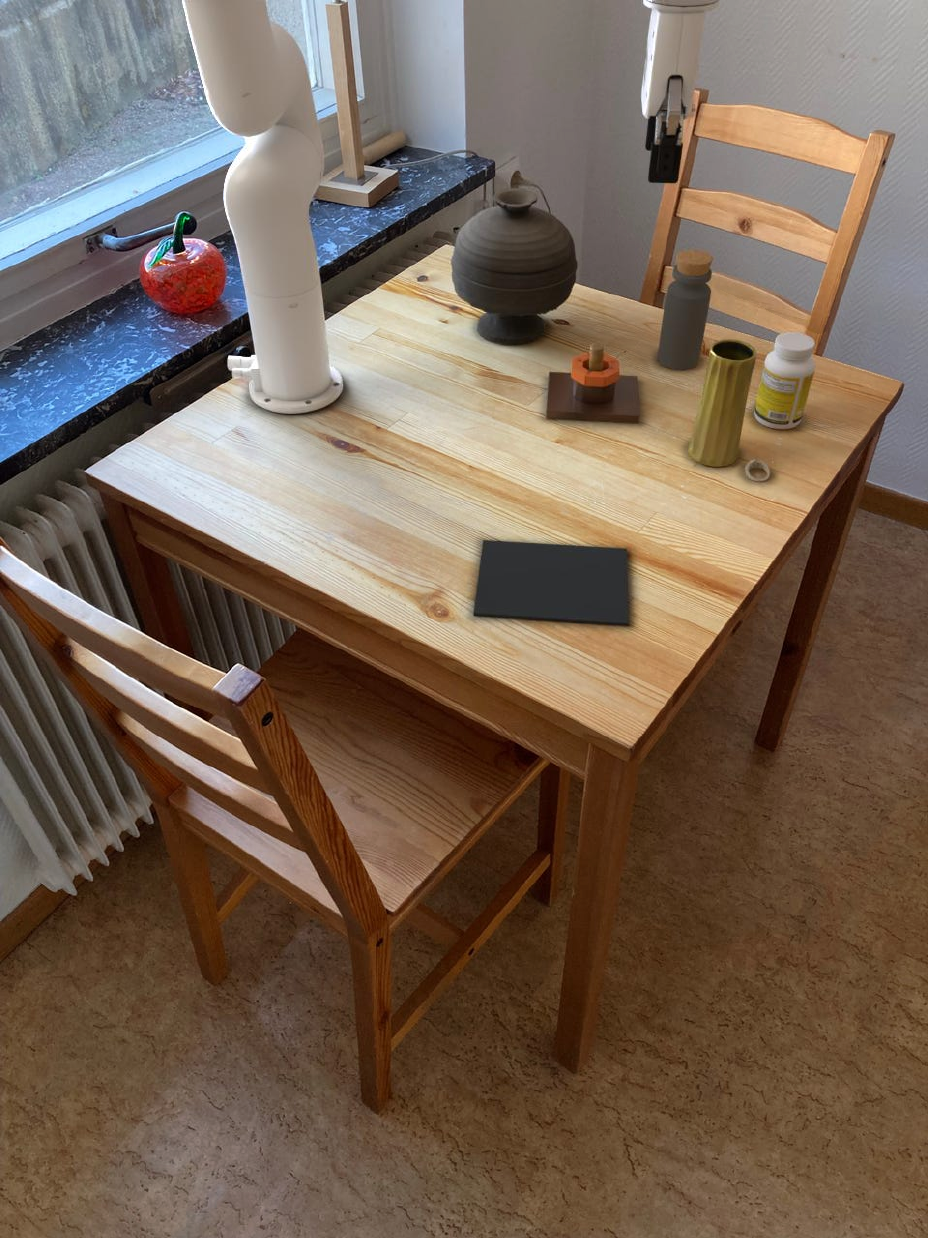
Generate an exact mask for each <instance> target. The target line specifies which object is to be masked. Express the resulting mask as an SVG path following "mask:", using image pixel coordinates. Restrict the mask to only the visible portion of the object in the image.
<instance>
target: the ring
mask: <svg viewBox="0 0 928 1238" xmlns="http://www.w3.org/2000/svg"><path fill="white" fill-rule="evenodd" d="M753 468H755V469H762V470H764V471H765V472H766V476H765V477H763V478H756V477H754V476H753V475H752V474H751V473H750V470H753ZM743 471H744V474H745V475H746V477H747V478H748V479H749V480H751V481H753V482H758V483H759V482H760V483H761V482H766V481H768V480H769V478H770V476H771V470H770V468H769V466H768V465H767V463H765V461H763V460H760V459H759V460H756V458H754V459H750V460H749V461H748V462H747V463H746V464H745V466H744V469H743Z"/></svg>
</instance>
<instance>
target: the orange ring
mask: <svg viewBox="0 0 928 1238" xmlns="http://www.w3.org/2000/svg"><path fill="white" fill-rule="evenodd" d="M589 357H590V352H587V351H586V352H584V353H581V354H580V355H577V356H575V357H573V358H572V359H571V368H570V369H571V371H570V373H571V378H572V379H574V380H576V381H578V382H579V383H581V384H583V385H586V386H600V387H604V386H607V385H610V384H612V383H614V382H616V381H618V380H619V375H621V374H620V373H621V362H620V360H619V359H617V358H615V357H613V356H612V355H610V354H609V353H605V352H604V358H603V368H602V369H604V371H602V372H595V371H589V370H587V368H589Z"/></svg>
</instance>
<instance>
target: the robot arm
mask: <svg viewBox="0 0 928 1238" xmlns="http://www.w3.org/2000/svg"><path fill="white" fill-rule="evenodd" d="M181 1H182V2H181V3H182V6H183V9H184V14H185V18H186V23H187V27H188V32H189V36H190V39H191V43H192V47H193V50H194V54H195V58H196V62H197V66H198V71H199V73H200V78H201V81H202V85H203V89H204V90H203V91H204V94H205V98H206V100H207V104H208V106H209V109H210V111H211V113H212V114H213V116H214V118H215V120H216V121H217V122H218V124H219V125H220V126H221V127H223V129H225V130H227V132H228V133H231V134H232V135H234V136H237V137H241V138H244V140H245V145H244V146H243V148H242V149H241V150H240V152H238V154H237V156H236V157H235V158H234V160H233V162H232V164H231V165H230V167H229V169H228V172H227V174H226V177H225V182H224V185H223V186H224V188H223V204H224V208H225V214H226V217H227V221H228V224H229V226H230V230H231V233H232V236H233V239H234V243H235V247H236V251H237V256H238V261H239V266H240V267H239V268H240V272H241V278H242V284H243V288H244V293H245V300H246V305H247V312H248V318H249V323H250V330H251V336H252V342H253V349H254V354H251V356H249V357H248V356H247V357H246V356H239V355H238V356H237V355H228V357H227V361H226V362H227V369H228V370H229V371H231V377H232V379H236V380H237V379H239V380H243V379H248V380H249V385H248V390H249V396H250V399H251V400H252V401H253V402H254V404H255V405H257V406H258V407H260V408H262V409H264V410H265V411H269V412H273V413H279V414H287V415H293V414H295V415H296V414H304V413H310V412H314V411H317V410H320V409H322V408H325V407H327V406H329V405H330V404H332V403H334V402H335V401H336V400H337V399H338V398H339V397H340V396H341V394H342V392H343V390H344V380H343V375H342V374H341V372H340V371H339V370H338V369H337V368H336V367H334V366H333V365H331V364H330V356H329V355H330V354H329V347H328V346H329V345H328V338H327V329H326V321H325V320H326V319H325V311H324V302H323V292H322V284H321V283H322V282H321V276H320V266H319V259H318V253H317V247H316V242H315V238H314V234H313V230H312V227H311V221H310V207H311V206H310V205H311V203H312V201H313V199H314V198H315V194H316V193H317V191H318V189H319V187H320V185H321V182H322V180H323V177H324V172H325V153H324V146H323V139H322V136H321V135H322V134H321V130H320V125H319V120H318V119H319V118H318V116H317V115H318V114H317V110H316V105H315V100H314V95H313V89H312V85H311V79H310V74H309V71H308V67H307V63H306V60H305V58H304V57H305V56H304V55H303V52H302V50H301V48H300V46H299V44H298V42H297V41H296V40H295V38H294V36H292V34H291V33H289V31H288V30H286V28H284V27H283V26H281V25H280V24H279V23H276V22H274V21H272V20H270V17H269V12H268V6H267V1H266V0H181ZM642 4H643V6H644V7H647V8H649V9H651V13H650V19H649V25H648V33H647V41H646V50H645V57H644V67H643V75H642V83H641V92H640V99H641V101H640V102H641V109H642V111H641V112H642V115H643V117H644V118H645V119H647V126H646V135H645V142H644V143H645V144H644V146H645V147H644V148H645V150H646V151H648V152H650V155H649V164H648V172H647V173H648V174H647V181H648V182H649V183H650V184H677V183H678V181H679V178H680V169H681V163H682V154H683V147H684V143H683V135H684V122H685V120H686V119H688V118H689V117H690V116H691V112H692V108H693V102H694V98H695V97H694V96H695V91H696V85H697V79H698V71H699V66H700V59H701V51H702V47H703V45H702V44H703V37H704V30H705V22H706V15H707V12H709V11H712V10H715V9H717V7H719V4H720V0H642Z"/></svg>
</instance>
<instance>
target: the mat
mask: <svg viewBox="0 0 928 1238" xmlns="http://www.w3.org/2000/svg"><path fill="white" fill-rule="evenodd" d="M479 560H480V561H479V568H478V575H477V582H476V583H477V584H476V590H475V599H474V606H473V613H472V616H473V617H483V618H484V617H486V618H499V619H500V618H501V619H518V620H529V621H530V620H532V621H544V622H545V621H546V622H562V623H577V624H591V625H593V624H595V625H609V626H621V627H622V626H623V627H629V626H630V615H629V613H630V612H629V577H628V576H629V575H628V573H629V572H628V549H627V548H624V547H606V546H590V545H573V544H558V543H541V542H527V541H526V542H523V541H509V540H508V541H506V540H505V541H504V540H492V539H491V540H489V539H483V540H482V546H481V554H480V559H479Z"/></svg>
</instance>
